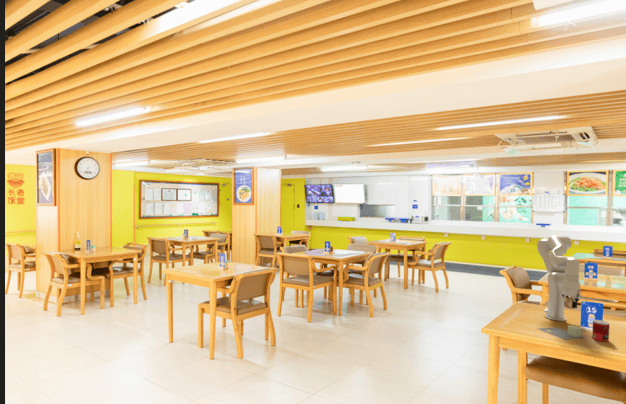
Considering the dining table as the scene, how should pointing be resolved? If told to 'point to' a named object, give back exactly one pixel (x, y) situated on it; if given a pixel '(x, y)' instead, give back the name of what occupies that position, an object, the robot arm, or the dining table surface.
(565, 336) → the mat
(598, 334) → the canned food
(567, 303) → the oak block
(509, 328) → the dining table surface
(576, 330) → the sage block
